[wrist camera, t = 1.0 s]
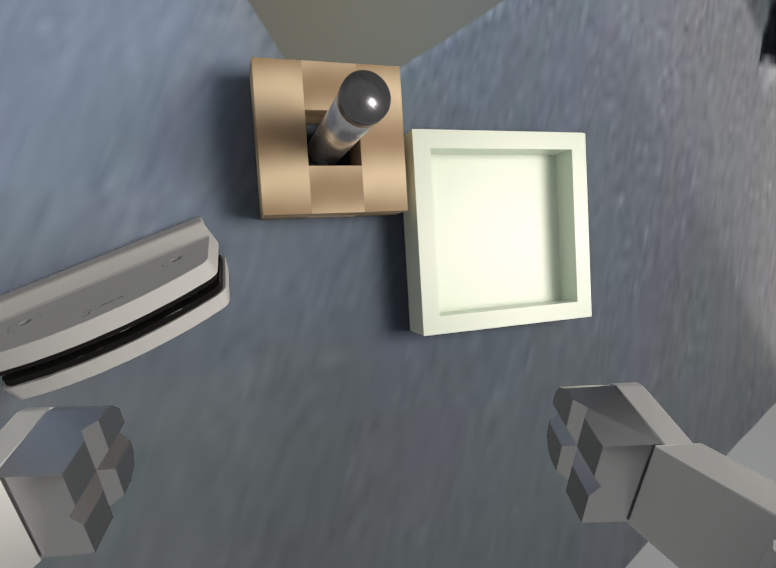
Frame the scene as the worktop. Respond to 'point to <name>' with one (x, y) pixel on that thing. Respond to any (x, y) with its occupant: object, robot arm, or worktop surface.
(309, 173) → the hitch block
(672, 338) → the worktop surface
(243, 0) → the worktop surface
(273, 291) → the worktop surface
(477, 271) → the sage tray
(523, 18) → the worktop surface
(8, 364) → the grey slotted holder
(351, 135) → the steel pin
